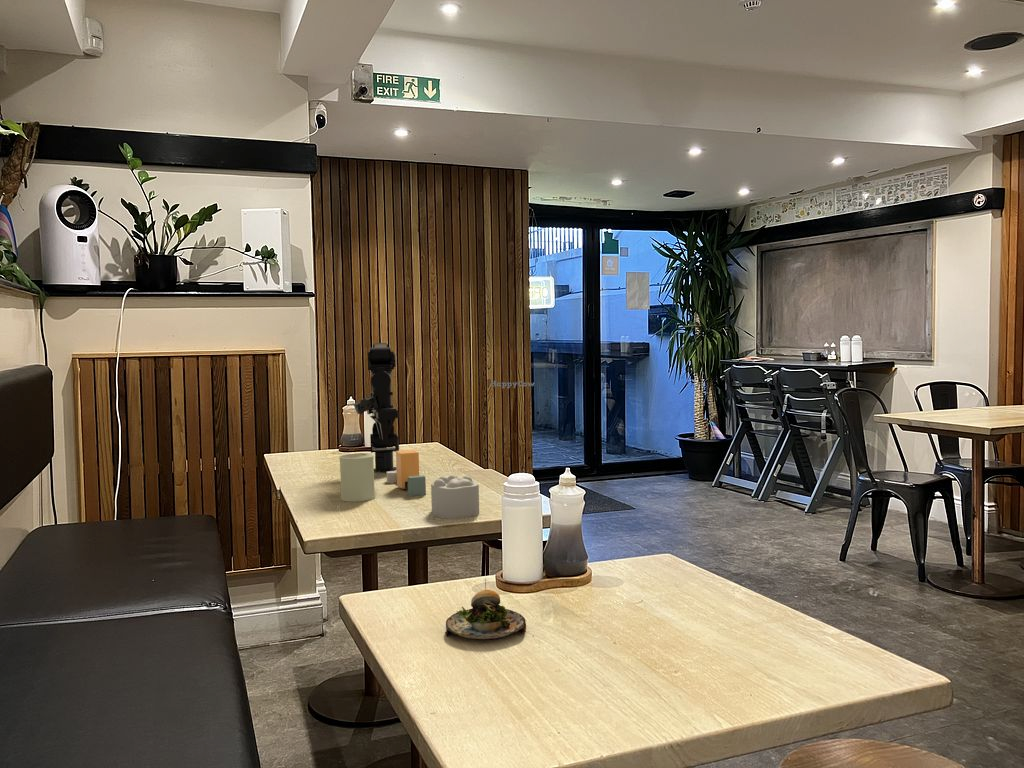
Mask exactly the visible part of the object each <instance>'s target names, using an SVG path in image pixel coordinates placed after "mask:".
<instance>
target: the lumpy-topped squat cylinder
mask: <svg viewBox="0 0 1024 768" xmlns="http://www.w3.org/2000/svg"><path fill="white" fill-rule="evenodd" d="M479 489H480V486H479V483H478V482H476V481H473V478H472V477H471V476H469V475H465V476H463V477H462V478H461V477H458V476H456V475H455V474H451V475H449V476H448V477H446V476H444V475H442V476H439V478H438V479H436V480H434V481H432V482H431V484H430V490H431V491H430V495H431V514H432V515H434V516H436V517H439V518H443V519H447V520H448V519H454V520H455V519H460V518H466V517H473V516H474V517H475V516H478V515H480V493H479V492H480V490H479Z"/></svg>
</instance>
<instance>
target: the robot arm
mask: <svg viewBox="0 0 1024 768" xmlns="http://www.w3.org/2000/svg"><path fill="white" fill-rule="evenodd" d="M395 368H396V354H395V353H394V351H393V350H391V347H390V346H389V343H387V342H376V343H373V344H372V347H370V348H369V351H367V370H368V371H370V376H371V392H370V393H369V397H366V398H362V399H360V400H359V401H356V402H354V403H353V404H352V405H353V408H354V410H355V412H356V414H357V415H362V414H364V413H365V412H366V415H369V417H370V418H371V419H372V420H373V421H374V422H373V425H372V427H371V428H372V429H371V430H372V431H371V432H372V433H370V438H369V439H370V454H372V453H374V466H375V467H374V472H385V473H386V472H388V471H396V466H394V452H395V453H396V451H400V437H399V436H398V434H397V432H395V426H394V423H395V421H396V420H397V419H398V418H400V417H399V416H400V415H399V410H397V408H395V407H394V404H392V396H393V395H394V391H392V379H391V378H392V377H393V370H395ZM371 414H372V415H371Z"/></svg>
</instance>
